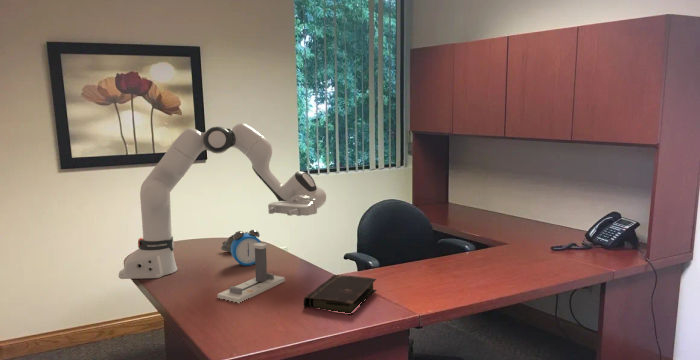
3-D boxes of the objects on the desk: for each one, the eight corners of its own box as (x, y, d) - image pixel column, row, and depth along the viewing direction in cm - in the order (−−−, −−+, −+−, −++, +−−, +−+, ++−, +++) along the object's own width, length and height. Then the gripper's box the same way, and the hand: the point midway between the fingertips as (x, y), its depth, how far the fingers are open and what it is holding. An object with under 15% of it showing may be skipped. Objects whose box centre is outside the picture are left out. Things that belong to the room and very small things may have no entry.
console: (264, 277, 198) (264, 268, 198) (284, 281, 193) (284, 272, 193) (217, 298, 176) (217, 288, 176) (238, 303, 171) (238, 293, 171)
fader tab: (259, 278, 191) (258, 242, 189) (268, 280, 189) (267, 243, 187) (253, 280, 188) (252, 244, 186) (262, 282, 186) (261, 246, 184)
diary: (302, 310, 167) (302, 295, 167) (332, 286, 190) (332, 273, 190) (354, 317, 160) (354, 302, 160) (378, 291, 183) (378, 278, 183)
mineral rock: (220, 253, 233) (219, 232, 232) (233, 247, 243) (232, 227, 242) (243, 255, 229) (243, 234, 227) (256, 249, 239) (255, 229, 237)
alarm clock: (234, 268, 210) (232, 233, 208) (230, 264, 215) (229, 230, 213) (264, 264, 215) (263, 230, 213) (260, 260, 221) (259, 227, 219)
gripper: (279, 196, 212) (258, 203, 201) (319, 198, 202) (298, 206, 190) (281, 210, 214) (259, 218, 202) (320, 213, 203) (300, 222, 192)
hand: (279, 212), depth 196 cm, fingers open, 8 cm apart
